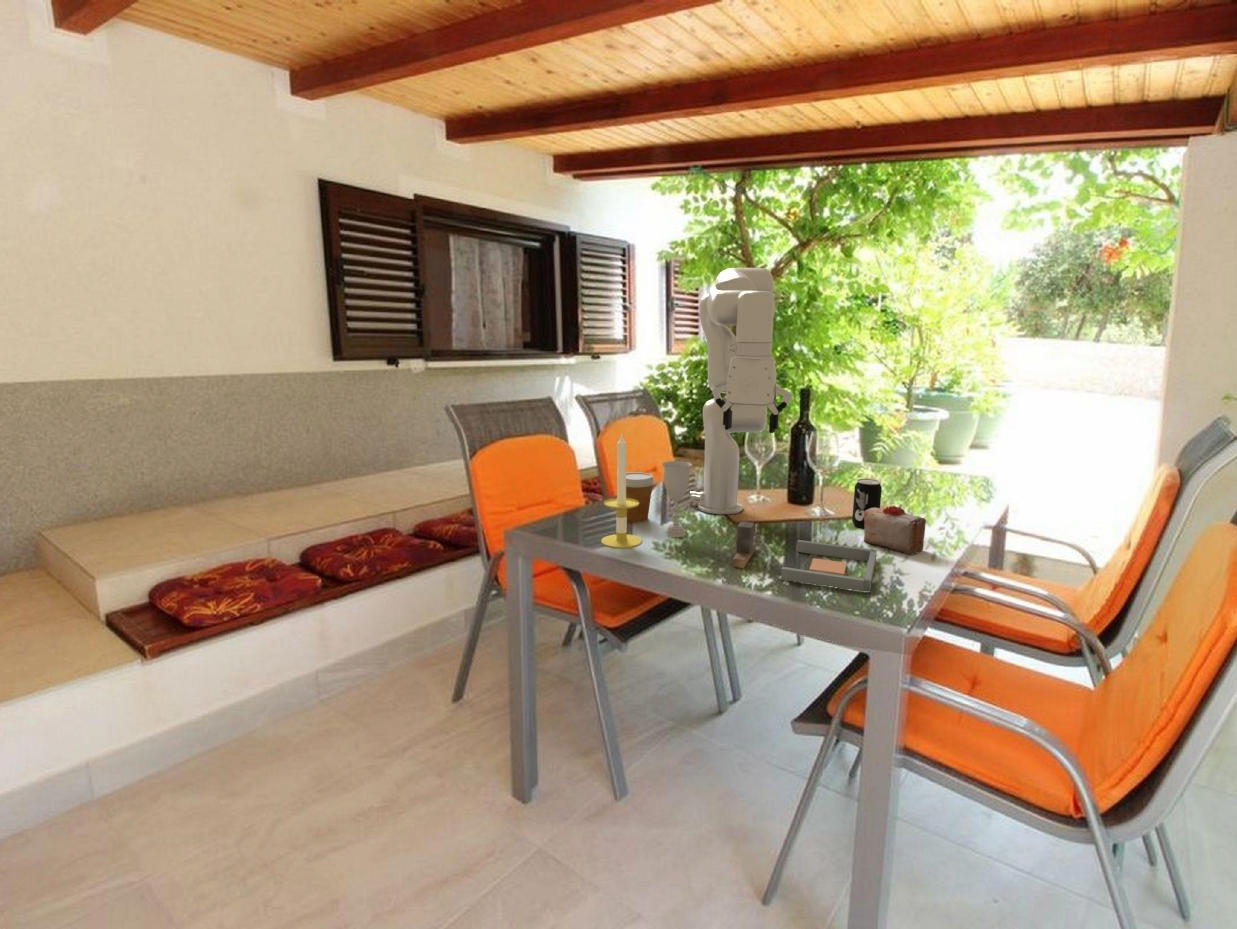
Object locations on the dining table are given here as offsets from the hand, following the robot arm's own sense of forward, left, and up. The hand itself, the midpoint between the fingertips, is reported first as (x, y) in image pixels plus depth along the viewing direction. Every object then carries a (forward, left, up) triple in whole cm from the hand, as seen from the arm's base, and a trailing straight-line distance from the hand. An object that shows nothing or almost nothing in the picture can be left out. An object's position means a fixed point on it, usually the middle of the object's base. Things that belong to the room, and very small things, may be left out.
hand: (749, 430), depth 146 cm
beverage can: (+23, +37, -29) cm, 52 cm away
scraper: (0, 0, -29) cm, 29 cm away
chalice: (-20, +10, -29) cm, 37 cm away
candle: (-30, -1, -29) cm, 42 cm away
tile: (+18, -1, -30) cm, 35 cm away
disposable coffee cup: (-34, +18, -29) cm, 48 cm away
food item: (+30, +22, -29) cm, 48 cm away
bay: (+18, 0, -29) cm, 34 cm away
